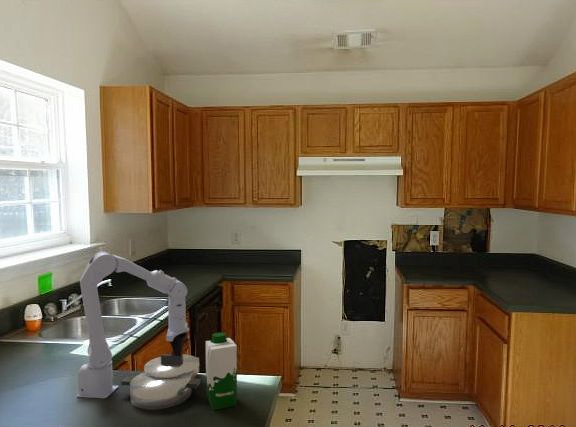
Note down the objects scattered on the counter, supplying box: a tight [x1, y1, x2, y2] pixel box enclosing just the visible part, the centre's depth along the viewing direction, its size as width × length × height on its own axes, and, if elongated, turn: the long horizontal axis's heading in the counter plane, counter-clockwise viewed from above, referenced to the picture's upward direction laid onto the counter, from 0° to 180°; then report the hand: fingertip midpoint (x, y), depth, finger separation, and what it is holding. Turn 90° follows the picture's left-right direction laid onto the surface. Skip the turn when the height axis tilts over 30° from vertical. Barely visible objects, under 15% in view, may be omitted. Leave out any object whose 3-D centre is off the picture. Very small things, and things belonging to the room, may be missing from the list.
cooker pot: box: [120, 357, 202, 410], centre depth 137 cm, size 24×28×5 cm
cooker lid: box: [143, 353, 200, 378], centre depth 141 cm, size 18×18×4 cm
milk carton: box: [205, 332, 238, 411], centre depth 127 cm, size 9×9×20 cm
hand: (177, 355), depth 146 cm, fingers closed
